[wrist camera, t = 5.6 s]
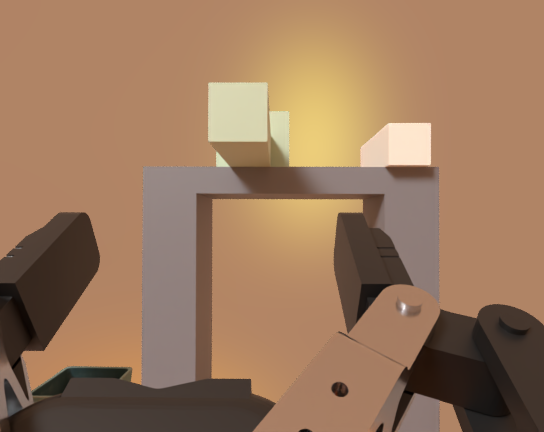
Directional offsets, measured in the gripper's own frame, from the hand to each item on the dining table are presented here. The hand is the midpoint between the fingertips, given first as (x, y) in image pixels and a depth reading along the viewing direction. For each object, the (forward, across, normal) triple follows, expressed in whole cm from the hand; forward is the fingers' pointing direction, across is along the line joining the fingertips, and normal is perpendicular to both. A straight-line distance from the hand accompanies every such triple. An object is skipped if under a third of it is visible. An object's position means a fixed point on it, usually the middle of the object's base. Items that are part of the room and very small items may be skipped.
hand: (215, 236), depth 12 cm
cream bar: (+19, +12, -6) cm, 23 cm away
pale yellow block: (+15, 0, -4) cm, 16 cm away
